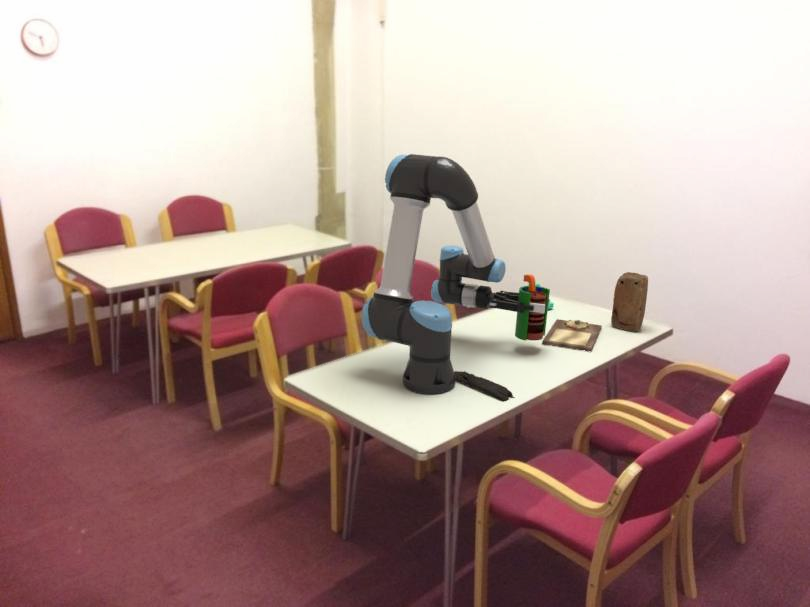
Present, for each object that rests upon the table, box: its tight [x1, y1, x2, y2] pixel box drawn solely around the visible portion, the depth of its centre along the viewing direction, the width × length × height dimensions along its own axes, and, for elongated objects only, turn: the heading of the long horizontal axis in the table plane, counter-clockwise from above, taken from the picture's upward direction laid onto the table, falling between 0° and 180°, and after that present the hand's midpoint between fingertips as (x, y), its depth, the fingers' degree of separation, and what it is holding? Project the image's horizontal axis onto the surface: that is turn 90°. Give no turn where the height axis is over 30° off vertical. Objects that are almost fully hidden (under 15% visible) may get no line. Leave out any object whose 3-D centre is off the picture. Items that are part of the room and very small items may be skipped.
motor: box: [514, 273, 551, 342], centre depth 216 cm, size 10×9×20 cm
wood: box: [454, 370, 516, 402], centre depth 193 cm, size 22×7×3 cm, turn 42°
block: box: [610, 271, 649, 332], centre depth 240 cm, size 11×8×20 cm
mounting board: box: [541, 318, 603, 352], centre depth 233 cm, size 16×25×3 cm, turn 157°
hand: (547, 305), depth 213 cm, fingers closed on motor, 7 cm apart
